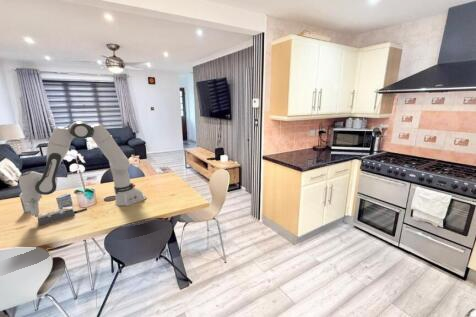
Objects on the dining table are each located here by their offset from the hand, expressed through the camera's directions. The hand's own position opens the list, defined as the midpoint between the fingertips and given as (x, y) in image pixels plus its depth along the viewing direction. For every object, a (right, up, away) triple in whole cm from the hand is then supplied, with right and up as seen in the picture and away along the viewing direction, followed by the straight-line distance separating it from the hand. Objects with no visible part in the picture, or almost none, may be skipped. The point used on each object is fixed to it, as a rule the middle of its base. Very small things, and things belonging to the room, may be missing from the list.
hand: (36, 216), depth 146 cm
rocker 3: (+12, +2, +11) cm, 16 cm away
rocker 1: (+2, 0, +2) cm, 3 cm away
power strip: (+9, -3, +11) cm, 15 cm away
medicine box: (-1, +1, +26) cm, 26 cm away
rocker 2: (+7, +1, +6) cm, 10 cm away
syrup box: (-23, -1, +20) cm, 30 cm away
